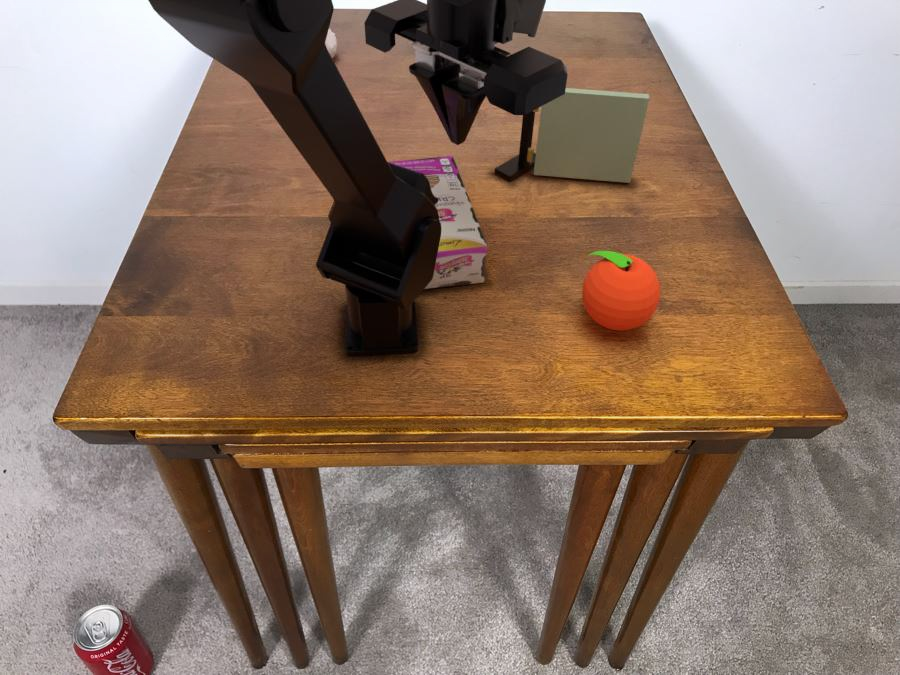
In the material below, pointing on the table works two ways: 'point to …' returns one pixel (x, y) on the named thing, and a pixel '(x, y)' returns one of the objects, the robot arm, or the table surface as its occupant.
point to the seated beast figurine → (331, 43)
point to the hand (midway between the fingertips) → (458, 142)
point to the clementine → (620, 291)
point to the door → (590, 135)
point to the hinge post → (520, 152)
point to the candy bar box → (453, 224)
